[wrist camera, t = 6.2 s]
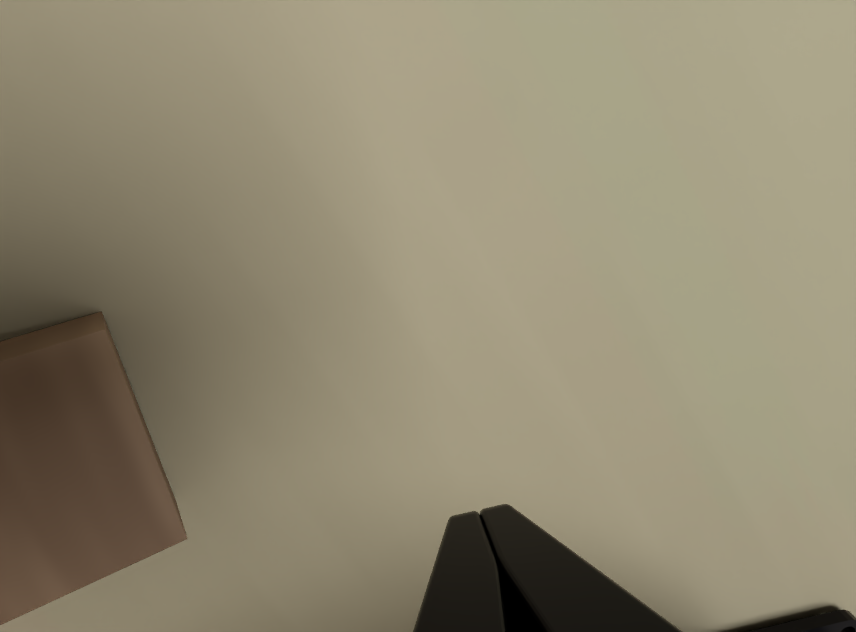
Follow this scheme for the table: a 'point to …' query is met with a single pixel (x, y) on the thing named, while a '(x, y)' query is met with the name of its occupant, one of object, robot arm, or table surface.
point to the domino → (74, 467)
